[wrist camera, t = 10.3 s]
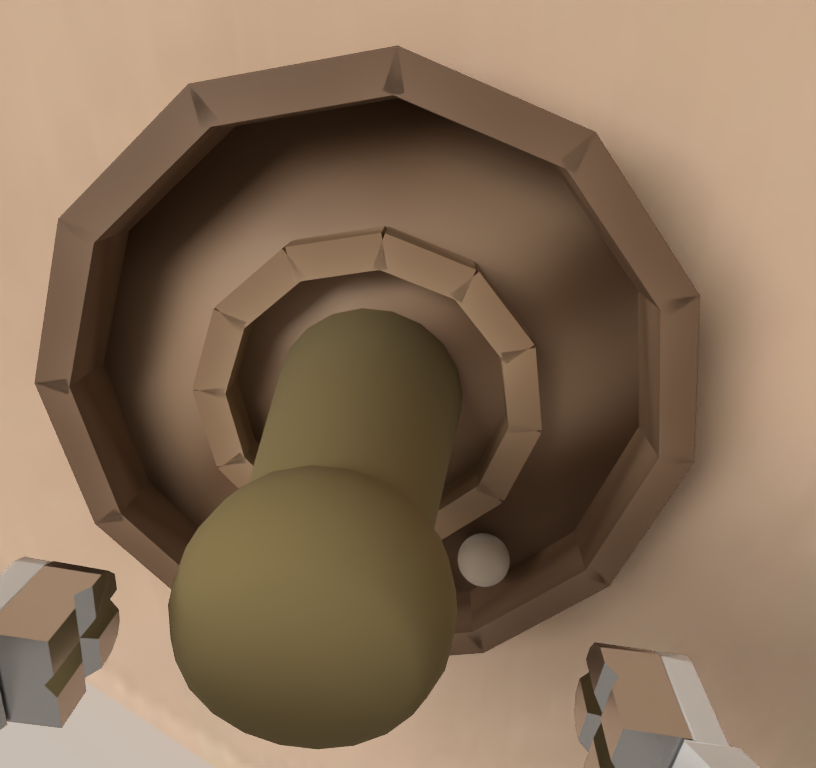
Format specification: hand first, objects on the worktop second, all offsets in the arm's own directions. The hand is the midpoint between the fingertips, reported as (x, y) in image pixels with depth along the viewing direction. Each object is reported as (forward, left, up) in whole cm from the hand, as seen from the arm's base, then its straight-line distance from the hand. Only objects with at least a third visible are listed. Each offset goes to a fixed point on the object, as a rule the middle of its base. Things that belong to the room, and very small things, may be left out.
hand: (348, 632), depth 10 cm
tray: (0, +1, -11) cm, 11 cm away
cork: (0, +1, -10) cm, 10 cm away
